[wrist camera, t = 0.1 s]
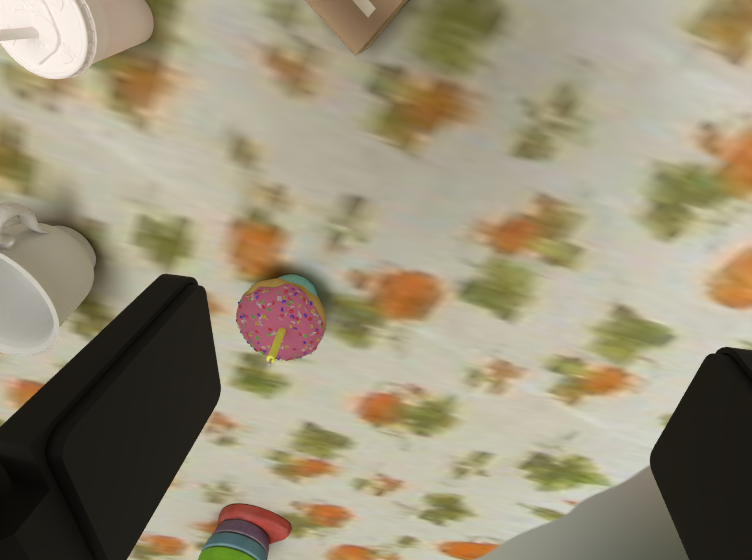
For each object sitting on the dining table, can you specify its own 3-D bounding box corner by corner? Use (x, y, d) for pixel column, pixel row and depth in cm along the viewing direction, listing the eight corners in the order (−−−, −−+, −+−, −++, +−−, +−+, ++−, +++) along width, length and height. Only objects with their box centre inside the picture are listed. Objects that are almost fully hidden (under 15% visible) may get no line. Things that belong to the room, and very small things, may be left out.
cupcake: (291, 242, 44) (243, 315, 34) (353, 300, 47) (326, 384, 36) (238, 289, 48) (181, 368, 38) (298, 341, 50) (260, 428, 40)
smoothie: (92, 47, 37) (-76, 69, 25) (88, -47, 34) (-108, -71, 22) (168, 73, 37) (38, 108, 26) (172, -17, 34) (24, -25, 22)
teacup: (134, 201, 44) (59, 249, 36) (120, 314, 52) (55, 375, 43) (10, 148, 43) (-98, 184, 34) (14, 271, 51) (-73, 325, 42)
